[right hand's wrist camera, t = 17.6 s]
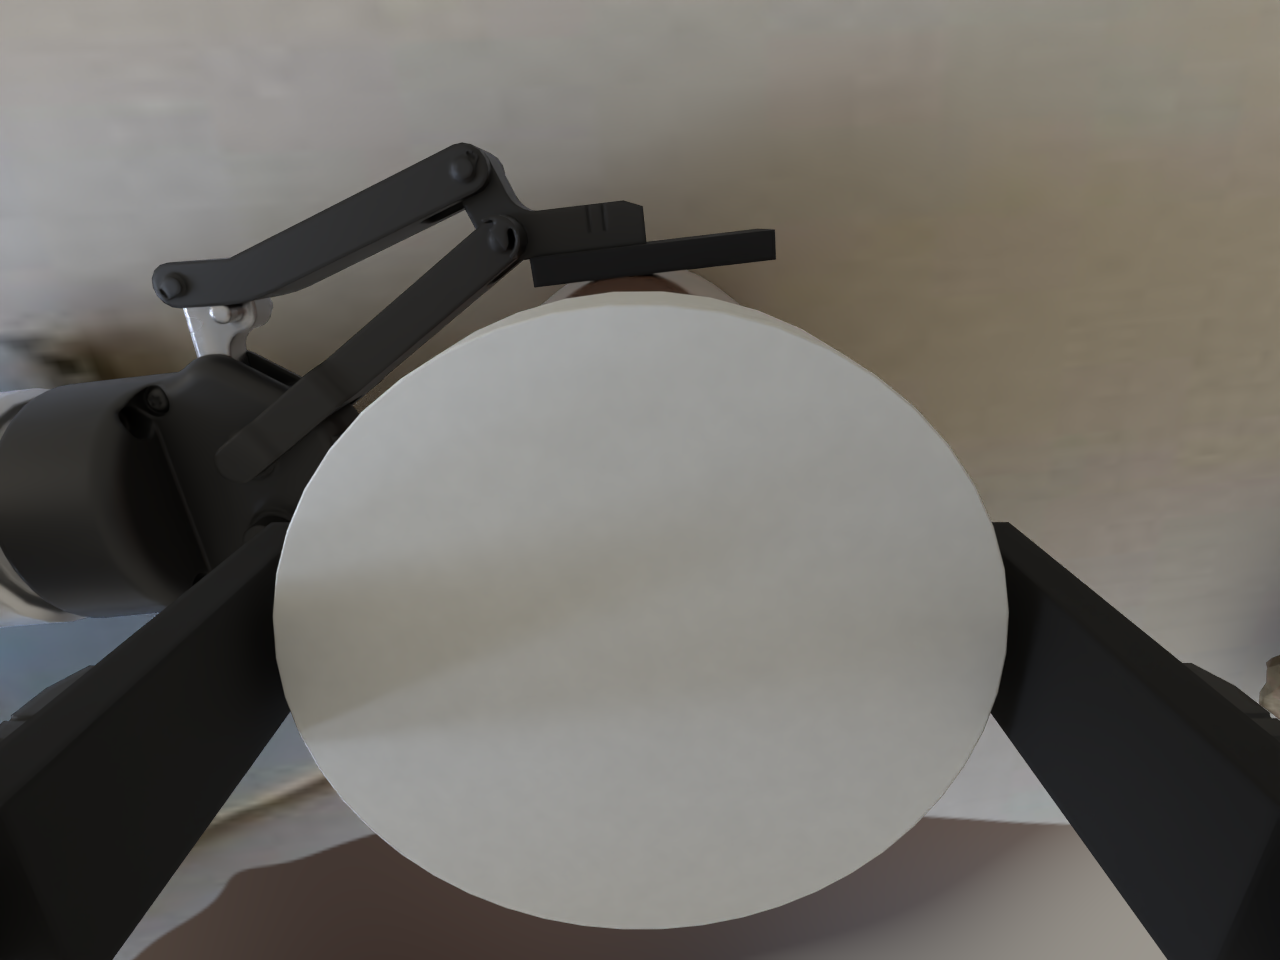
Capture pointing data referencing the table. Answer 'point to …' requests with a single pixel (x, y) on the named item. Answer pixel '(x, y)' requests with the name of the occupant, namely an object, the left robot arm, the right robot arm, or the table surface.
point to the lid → (640, 613)
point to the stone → (1272, 688)
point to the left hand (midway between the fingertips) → (774, 429)
